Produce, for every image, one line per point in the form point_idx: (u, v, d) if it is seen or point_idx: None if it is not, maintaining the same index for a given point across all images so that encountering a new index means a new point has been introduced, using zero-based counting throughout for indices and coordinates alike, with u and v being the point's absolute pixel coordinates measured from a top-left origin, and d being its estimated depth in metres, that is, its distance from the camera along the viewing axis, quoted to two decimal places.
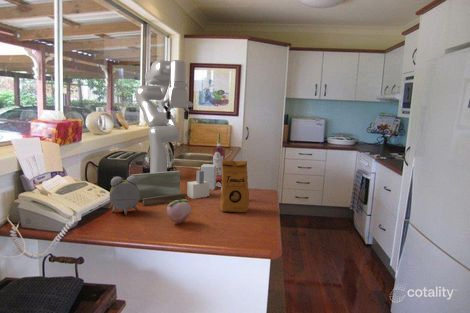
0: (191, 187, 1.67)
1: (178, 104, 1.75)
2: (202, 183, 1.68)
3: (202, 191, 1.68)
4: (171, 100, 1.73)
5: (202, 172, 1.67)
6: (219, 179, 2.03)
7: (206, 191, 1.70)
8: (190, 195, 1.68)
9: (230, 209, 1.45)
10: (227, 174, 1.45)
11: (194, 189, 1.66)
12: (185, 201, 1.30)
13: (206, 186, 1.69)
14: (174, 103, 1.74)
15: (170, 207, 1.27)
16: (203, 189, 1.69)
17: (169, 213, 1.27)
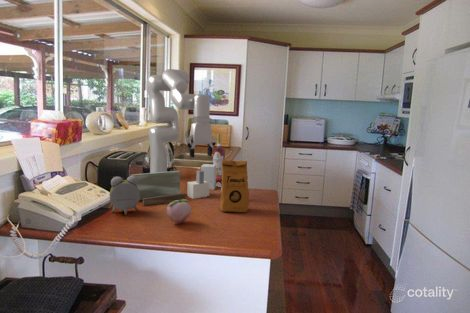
0: (191, 187, 1.67)
1: (202, 141, 1.63)
2: (202, 183, 1.68)
3: (202, 191, 1.68)
4: (195, 137, 1.61)
5: (202, 172, 1.67)
6: (219, 179, 2.03)
7: (206, 191, 1.70)
8: (190, 195, 1.68)
9: (230, 209, 1.45)
10: (227, 174, 1.45)
11: (194, 189, 1.66)
12: (185, 201, 1.30)
13: (206, 186, 1.69)
14: (198, 140, 1.62)
15: (170, 207, 1.27)
16: (203, 189, 1.69)
17: (169, 213, 1.27)
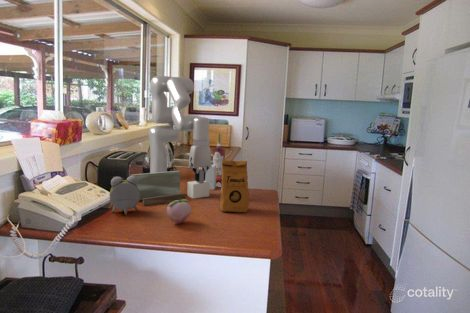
0: (191, 187, 1.67)
1: (201, 163, 1.65)
2: (202, 183, 1.68)
3: (202, 191, 1.68)
4: (194, 160, 1.63)
5: (202, 172, 1.67)
6: (219, 179, 2.03)
7: (206, 191, 1.70)
8: (190, 195, 1.68)
9: (230, 209, 1.45)
10: (227, 174, 1.45)
11: (194, 189, 1.66)
12: (185, 201, 1.30)
13: (206, 186, 1.69)
14: (197, 163, 1.64)
15: (170, 207, 1.27)
16: (203, 188, 1.68)
17: (169, 213, 1.27)
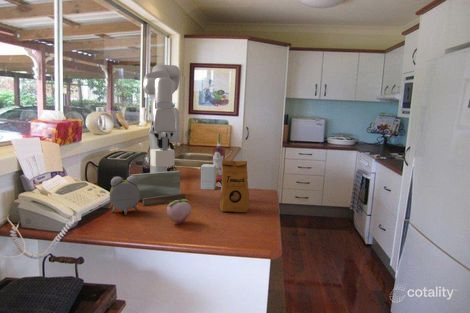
0: (153, 154, 1.53)
1: (164, 128, 1.52)
2: (166, 150, 1.54)
3: (166, 159, 1.55)
4: (155, 124, 1.50)
5: (166, 138, 1.53)
6: (219, 179, 2.03)
7: (171, 159, 1.56)
8: (153, 163, 1.54)
9: (230, 209, 1.45)
10: (227, 174, 1.45)
11: (157, 156, 1.52)
12: (185, 201, 1.30)
13: (170, 154, 1.56)
14: (159, 127, 1.51)
15: (170, 207, 1.27)
16: (167, 156, 1.55)
17: (169, 213, 1.27)
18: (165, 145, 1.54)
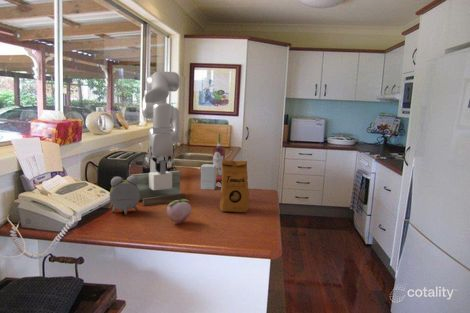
0: (152, 178, 1.57)
1: (162, 152, 1.56)
2: (164, 174, 1.58)
3: (164, 182, 1.58)
4: (154, 149, 1.53)
5: (164, 162, 1.57)
6: (219, 179, 2.03)
7: (169, 182, 1.60)
8: (151, 186, 1.58)
9: (230, 209, 1.45)
10: (227, 174, 1.45)
11: (155, 180, 1.56)
12: (185, 201, 1.30)
13: (168, 177, 1.59)
14: (157, 152, 1.54)
15: (170, 207, 1.27)
16: (165, 180, 1.59)
17: (169, 213, 1.27)
18: (163, 169, 1.57)
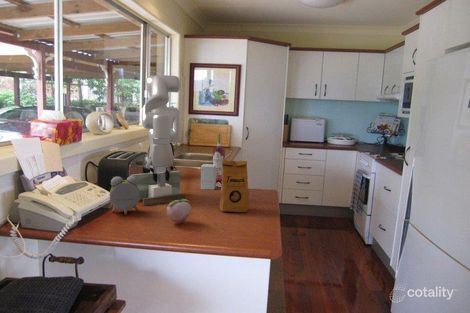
0: (151, 191, 1.58)
1: (162, 163, 1.56)
2: (164, 186, 1.59)
3: (163, 195, 1.59)
4: (153, 159, 1.54)
5: (163, 175, 1.58)
6: (219, 179, 2.03)
7: (168, 194, 1.61)
8: None
9: (230, 209, 1.45)
10: (227, 174, 1.45)
11: (154, 193, 1.57)
12: (185, 201, 1.30)
13: (168, 189, 1.60)
14: (157, 162, 1.55)
15: (170, 207, 1.27)
16: (164, 192, 1.59)
17: (169, 213, 1.27)
18: (163, 182, 1.58)
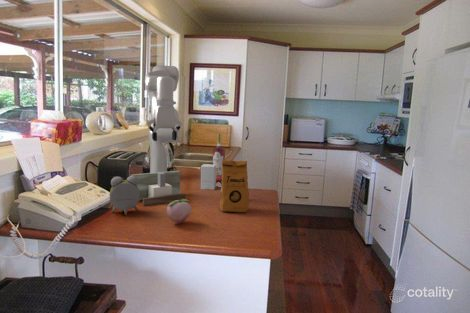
0: (151, 191, 1.58)
1: (165, 124, 1.60)
2: (164, 186, 1.59)
3: (163, 195, 1.59)
4: (157, 120, 1.57)
5: (163, 175, 1.58)
6: (219, 179, 2.03)
7: (168, 194, 1.61)
8: None
9: (230, 209, 1.45)
10: (227, 174, 1.45)
11: (154, 193, 1.57)
12: (185, 201, 1.30)
13: (168, 189, 1.60)
14: (160, 123, 1.58)
15: (170, 207, 1.27)
16: (164, 192, 1.59)
17: (169, 213, 1.27)
18: (163, 182, 1.58)
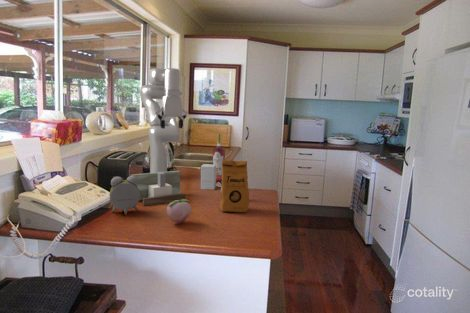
0: (151, 191, 1.58)
1: (172, 113, 1.72)
2: (164, 186, 1.59)
3: (163, 195, 1.59)
4: (165, 109, 1.70)
5: (163, 175, 1.58)
6: (219, 179, 2.03)
7: (168, 194, 1.61)
8: None
9: (230, 209, 1.45)
10: (227, 174, 1.45)
11: (154, 193, 1.57)
12: (185, 201, 1.30)
13: (168, 189, 1.60)
14: (168, 112, 1.71)
15: (170, 207, 1.27)
16: (164, 192, 1.59)
17: (169, 213, 1.27)
18: (163, 182, 1.58)
